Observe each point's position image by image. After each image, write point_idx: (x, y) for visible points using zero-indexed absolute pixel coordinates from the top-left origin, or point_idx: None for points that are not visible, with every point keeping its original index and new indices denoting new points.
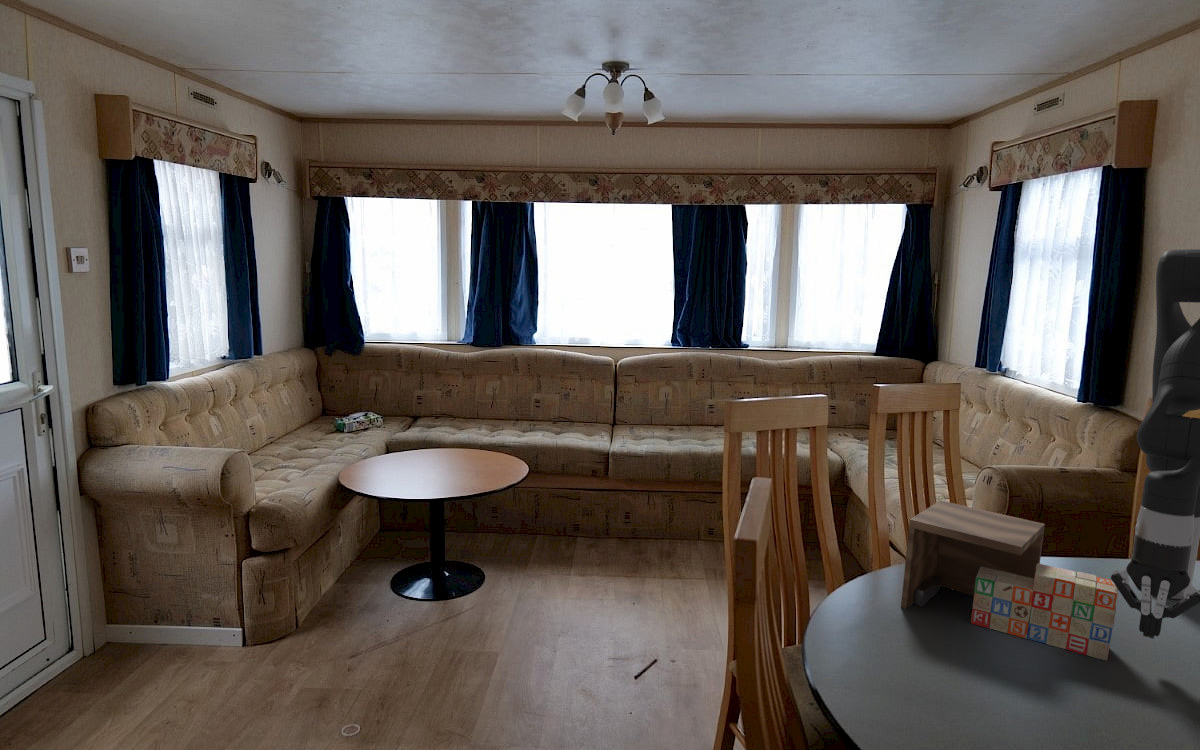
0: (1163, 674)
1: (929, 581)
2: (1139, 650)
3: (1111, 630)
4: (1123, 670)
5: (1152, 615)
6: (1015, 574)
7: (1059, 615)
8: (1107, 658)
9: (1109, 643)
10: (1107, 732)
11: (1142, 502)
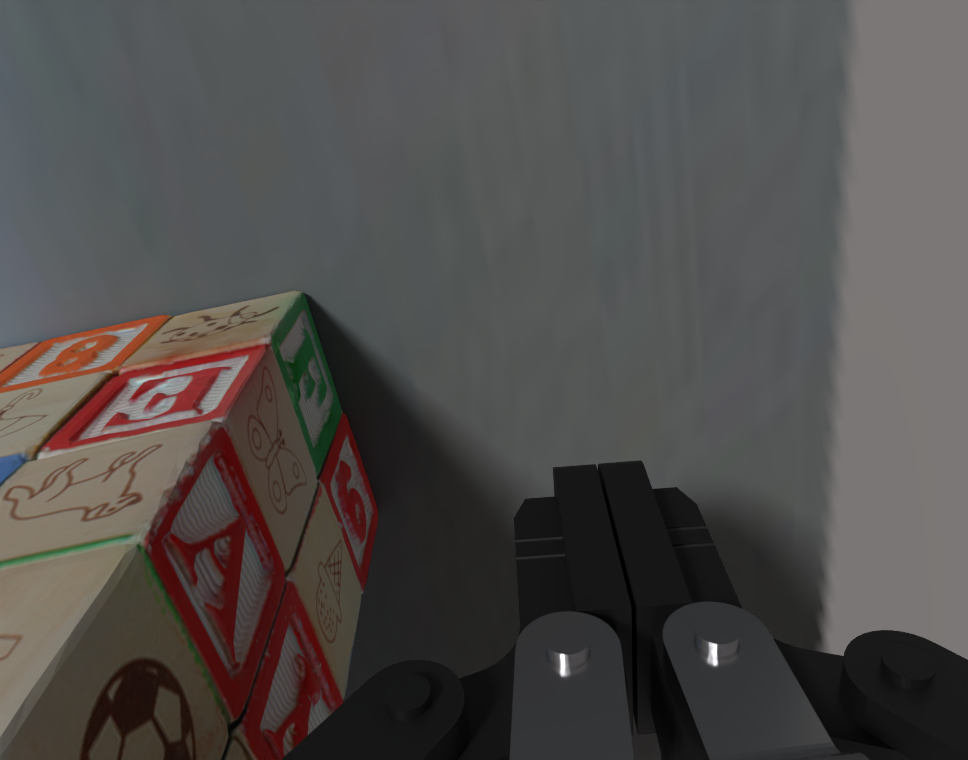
0: (684, 432)
1: None
2: (492, 149)
3: (343, 679)
4: (484, 558)
5: (641, 679)
6: None
7: None
8: (376, 523)
9: (360, 598)
10: None
11: None
